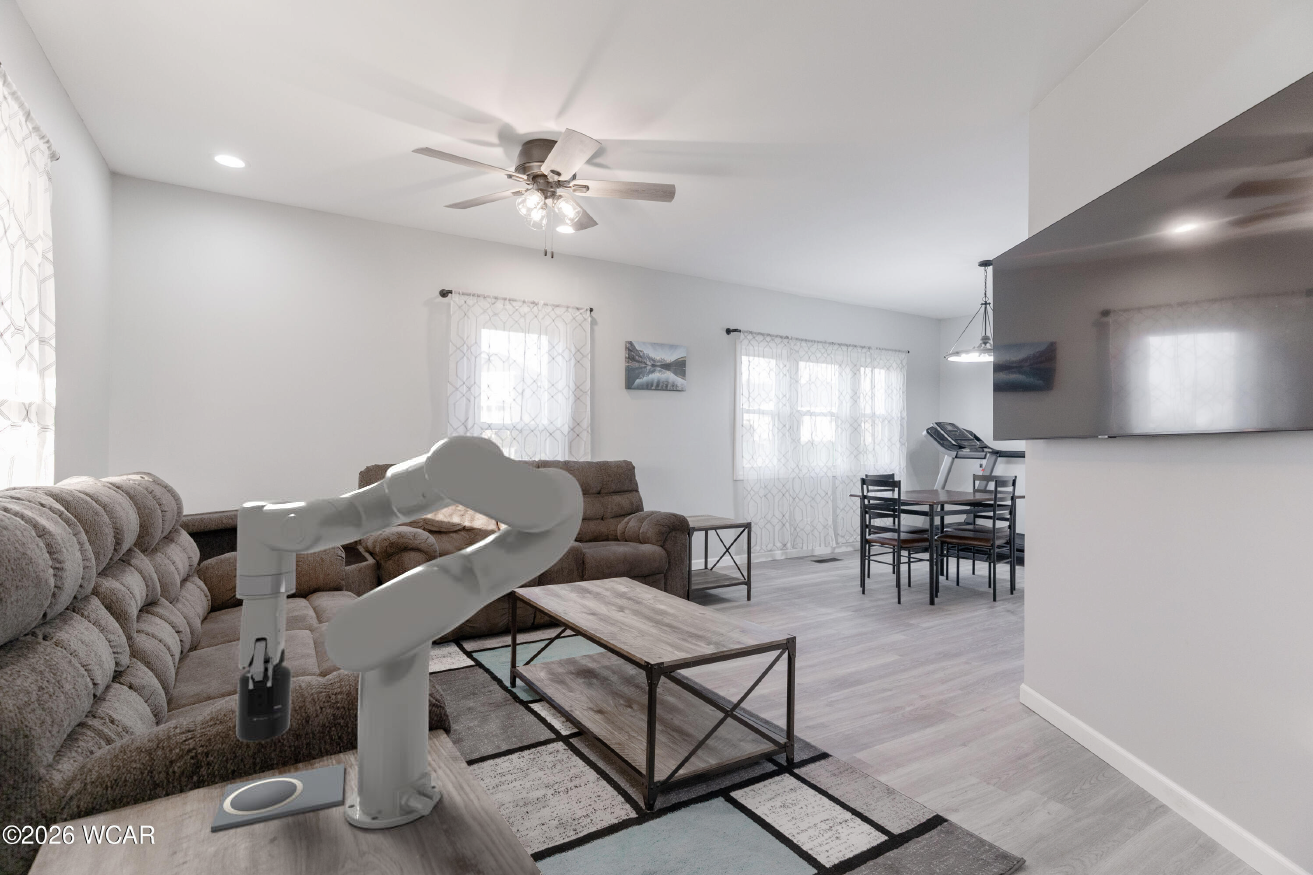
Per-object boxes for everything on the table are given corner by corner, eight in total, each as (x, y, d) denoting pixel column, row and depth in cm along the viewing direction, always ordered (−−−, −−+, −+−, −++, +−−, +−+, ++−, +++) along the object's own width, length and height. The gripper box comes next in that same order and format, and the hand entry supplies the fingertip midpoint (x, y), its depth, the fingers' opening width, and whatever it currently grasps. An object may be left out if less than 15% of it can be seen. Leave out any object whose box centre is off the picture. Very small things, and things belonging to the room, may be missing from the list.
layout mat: (344, 767, 104) (344, 762, 104) (342, 803, 93) (342, 798, 93) (227, 788, 97) (227, 783, 97) (210, 831, 86) (210, 825, 86)
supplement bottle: (265, 745, 90) (266, 659, 91) (224, 740, 92) (225, 656, 92) (301, 725, 97) (302, 645, 97) (262, 721, 98) (264, 642, 99)
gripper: (246, 575, 101) (244, 689, 101) (225, 598, 85) (222, 733, 85) (300, 572, 104) (298, 682, 104) (289, 593, 89) (287, 723, 88)
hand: (264, 703), depth 95 cm, fingers closed on supplement bottle, 6 cm apart
